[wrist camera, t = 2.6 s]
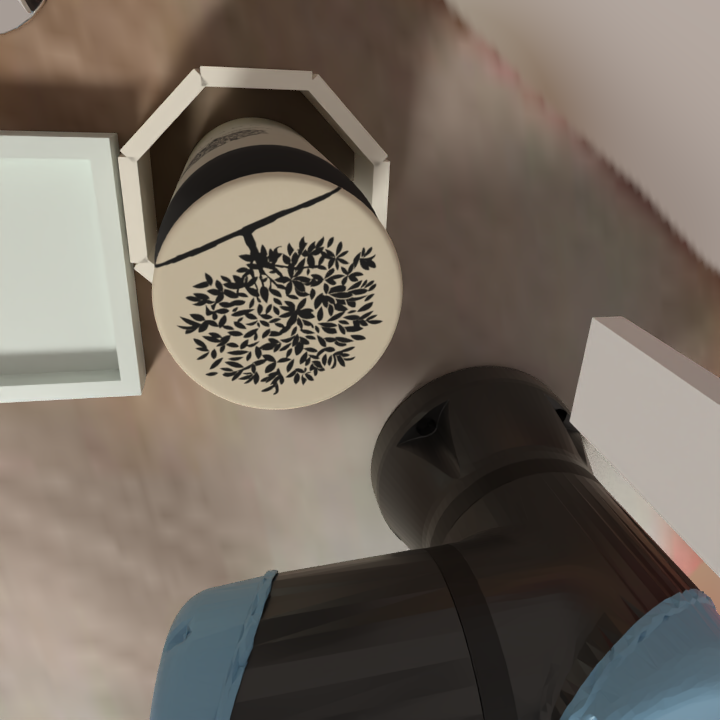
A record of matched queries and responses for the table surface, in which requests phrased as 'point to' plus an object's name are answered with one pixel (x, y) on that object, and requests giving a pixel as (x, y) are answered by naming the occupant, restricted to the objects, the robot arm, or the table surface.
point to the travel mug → (272, 271)
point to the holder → (136, 154)
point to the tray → (65, 270)
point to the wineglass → (17, 13)
